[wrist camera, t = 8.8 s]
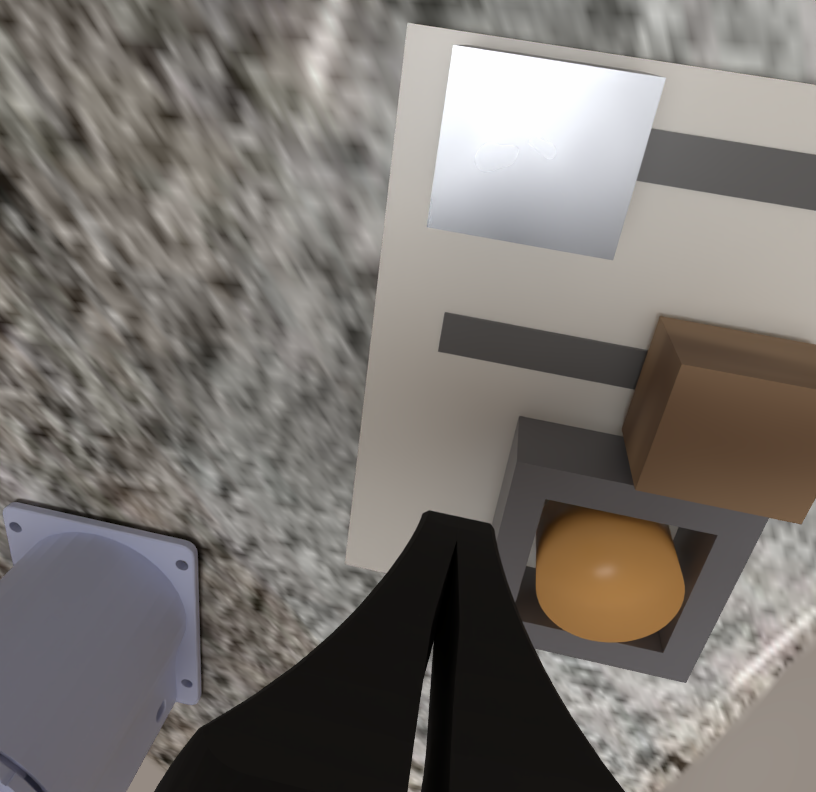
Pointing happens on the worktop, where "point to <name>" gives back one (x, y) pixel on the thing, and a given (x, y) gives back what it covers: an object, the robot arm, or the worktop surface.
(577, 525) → the orange button
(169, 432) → the worktop surface
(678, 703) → the worktop surface
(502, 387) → the panel
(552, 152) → the grey slider
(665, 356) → the small cardboard carton
